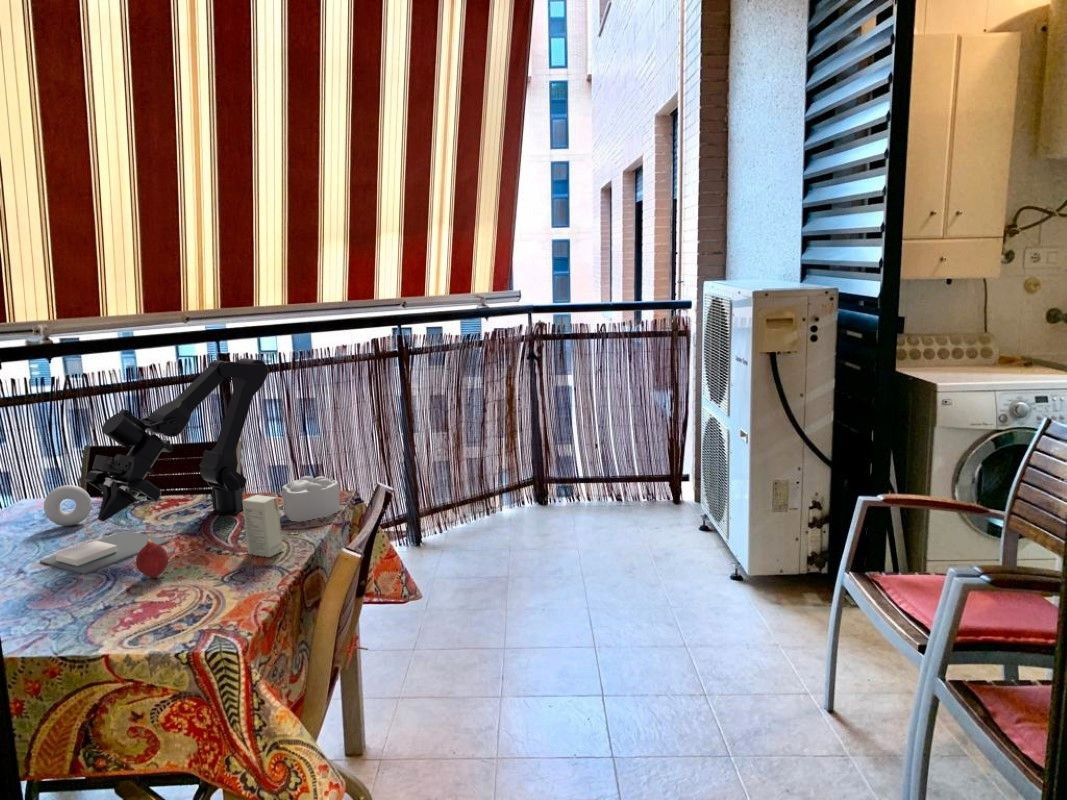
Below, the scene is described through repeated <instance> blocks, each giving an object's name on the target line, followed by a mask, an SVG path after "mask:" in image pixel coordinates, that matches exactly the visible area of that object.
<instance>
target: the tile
mask: <svg viewBox="0 0 1067 800" xmlns="http://www.w3.org/2000/svg"><path fill="white" fill-rule="evenodd" d="M116 552H117V545H113V544H109V543H104V542H100V541H97V540H93V541H91V542H88V543H85V544H82V545H79V546H76V547H74V548H70V549H68V550H67V549H66V550H64V551H62V552H58V553H56V554H55V555H56V560H57V561H58V562H62V563H65V564H69V565H73V566H77V567H79V566H82V565H84V564H87V563H90V562H92V561H95V560H98V559H100V558H103V557H106V556H108V555H111V554H114V553H116Z"/></svg>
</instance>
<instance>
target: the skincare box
mask: <svg viewBox="0 0 1067 800" xmlns="http://www.w3.org/2000/svg"><path fill="white" fill-rule="evenodd" d="M242 502H243V510H242V511H243V517H244V518H243V519H244V524H245V525H244V527H245V534H246V543H247V544H246V545H247V554H248V555H252V554H253V555H252V556H258V555H259V557H264V556H265V558H271V557H273V556H275V555H278V554H279V553H280V552H283V551H284V548H283V546H284V545H283V537H282V528H281V519H280V507H279V500H278V497H276V496H270V495H269V496H268V495H262V494H255V495H252V496H250V497H247V498H245V499H244V498H243V500H242Z"/></svg>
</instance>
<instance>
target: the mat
mask: <svg viewBox="0 0 1067 800" xmlns="http://www.w3.org/2000/svg"><path fill="white" fill-rule="evenodd" d="M148 539H150V540H152V542H154V543H155V544H158V545H160V546H163V545H165V544H167V543H170V539H165V538H162V537H156V536H152V535H149V534H142V533H139V532H134V531H129V530H123V531H120V532H117V533H114V534H111V535H109V536H106V537H103V538H100V539H96V541H100V542H104V543H109V544H113V545H117V552H116V553H114V554H111V555H108V556H106V557H103V558H100V559H98V560H95V561H92V562H90V563H87V564H84V565H82V566H79V567H77V566H73V565H69V564H65V563H62V562H58V561H57V560H56V554H55V555H52V556H49V557H46V558H43V559H41V560H39V563H40V562H41V563H40V564H44V563H45V564H44V565H47V564H48V565H47V566H51V565H52V567H55V568H58V569H64V570H66V571H70V572H74V573H79V574H82V575H87V574H91V573H93V572H96V571H98V570H101V569H103V568H106V567H108V566H111V565H114V564H116V563H119V562H121V561H123V560H127V559H129V558H132V557H134V556H137V555H138V553H139V551H140V550H141V549H142V548H143V547H144V546H145V545H146V544H147V541H148Z"/></svg>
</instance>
